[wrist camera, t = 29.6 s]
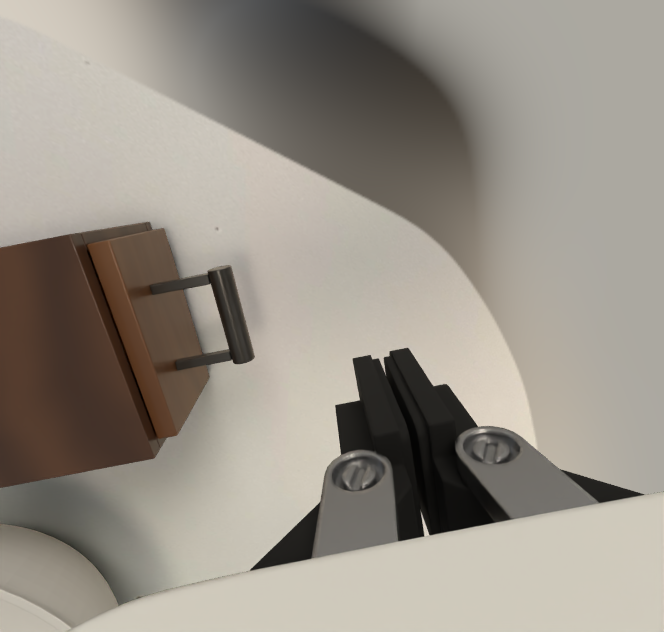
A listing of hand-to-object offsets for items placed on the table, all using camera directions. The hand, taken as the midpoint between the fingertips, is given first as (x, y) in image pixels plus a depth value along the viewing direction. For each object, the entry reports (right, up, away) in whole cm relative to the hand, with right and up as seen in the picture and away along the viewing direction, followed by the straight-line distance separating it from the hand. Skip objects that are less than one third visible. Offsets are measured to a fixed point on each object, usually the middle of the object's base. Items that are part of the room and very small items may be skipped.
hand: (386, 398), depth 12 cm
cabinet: (-21, +2, +18) cm, 28 cm away
